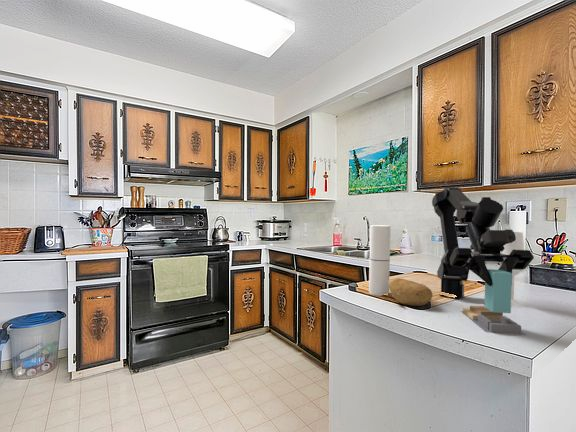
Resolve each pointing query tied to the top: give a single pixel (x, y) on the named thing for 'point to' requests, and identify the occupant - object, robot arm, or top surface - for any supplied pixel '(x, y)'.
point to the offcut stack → (476, 310)
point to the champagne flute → (508, 249)
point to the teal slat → (498, 291)
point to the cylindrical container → (379, 260)
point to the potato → (410, 292)
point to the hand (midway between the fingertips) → (500, 285)
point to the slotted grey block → (497, 325)
